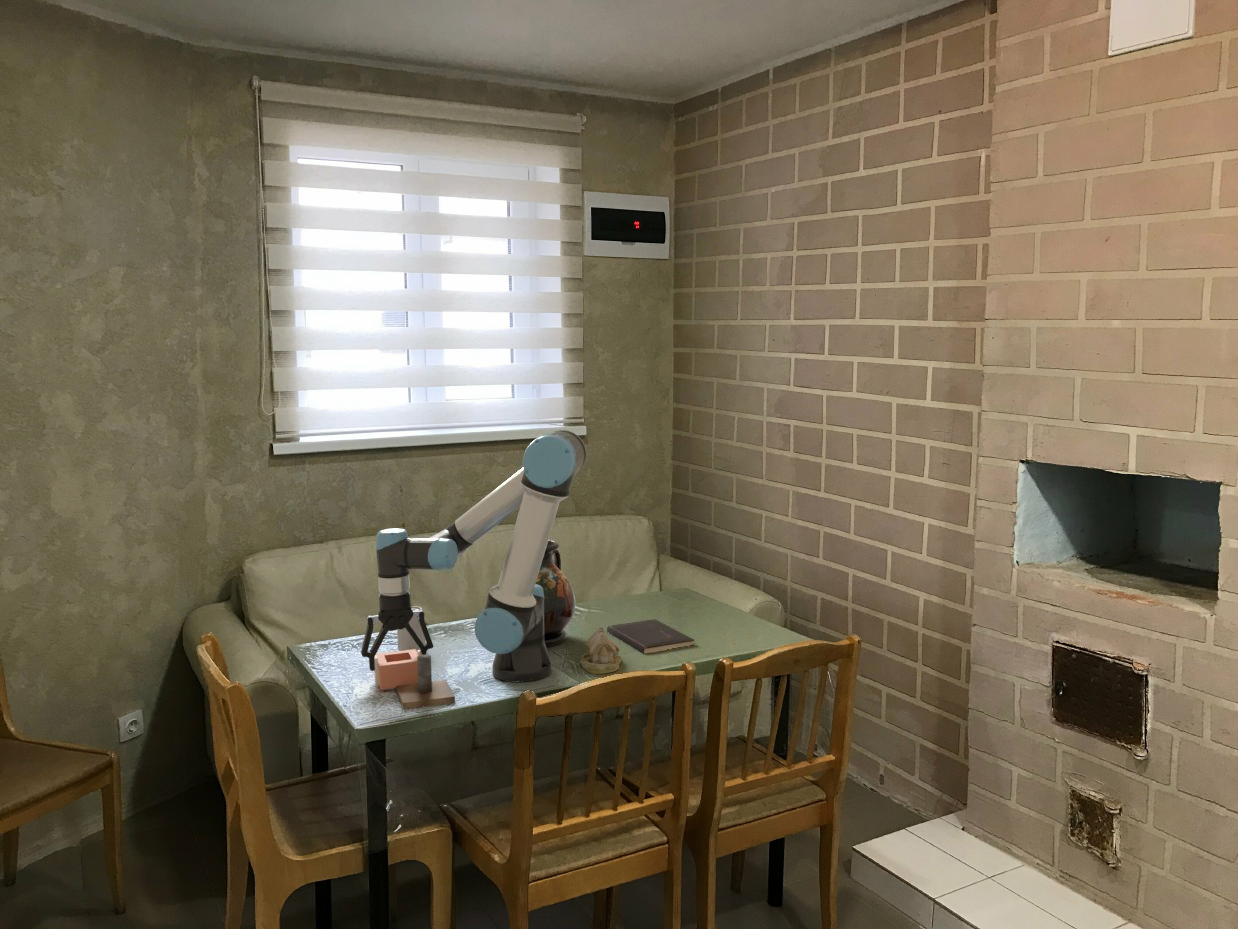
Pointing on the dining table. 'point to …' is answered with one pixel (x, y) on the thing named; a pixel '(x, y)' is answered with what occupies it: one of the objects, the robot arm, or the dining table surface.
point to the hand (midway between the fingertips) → (399, 679)
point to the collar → (397, 668)
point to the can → (406, 639)
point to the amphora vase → (555, 596)
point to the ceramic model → (600, 654)
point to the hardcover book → (649, 636)
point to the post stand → (425, 688)
